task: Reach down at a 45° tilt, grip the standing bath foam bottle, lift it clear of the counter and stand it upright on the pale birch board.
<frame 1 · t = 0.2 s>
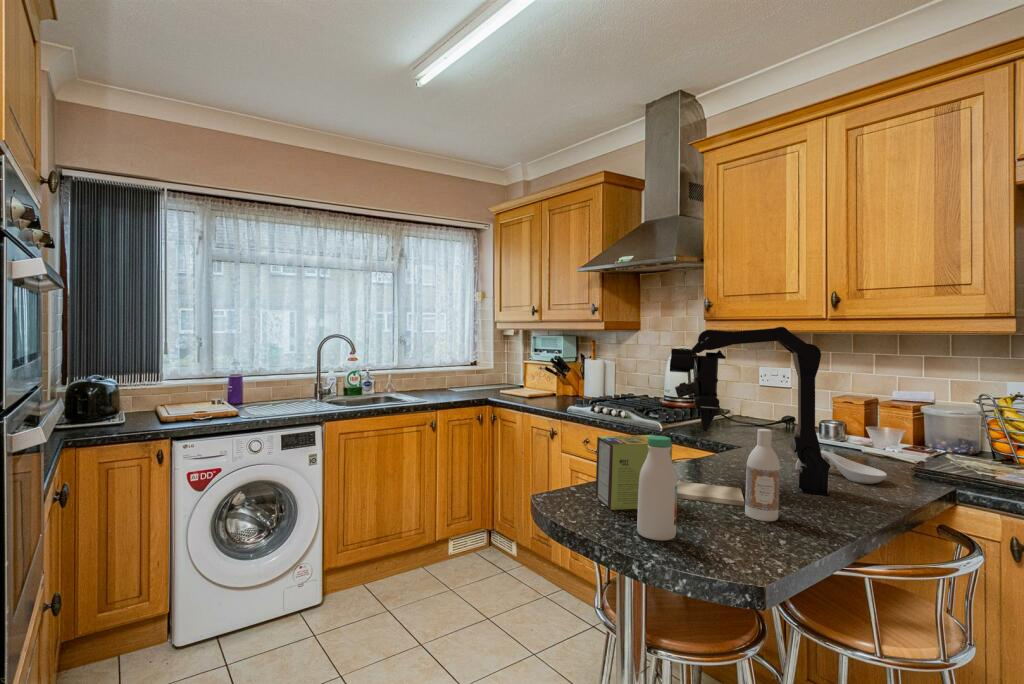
hand: (704, 428, 155), 15 cm above the countertop, tool pointing down, fingers open, 9 cm apart
spoon rest: (839, 478, 163), on the countertop
bath foam: (761, 517, 124), on the countertop
protein box: (631, 503, 132), on the countertop
birch board: (708, 495, 140), on the countertop
milk bottle: (656, 535, 111), on the countertop
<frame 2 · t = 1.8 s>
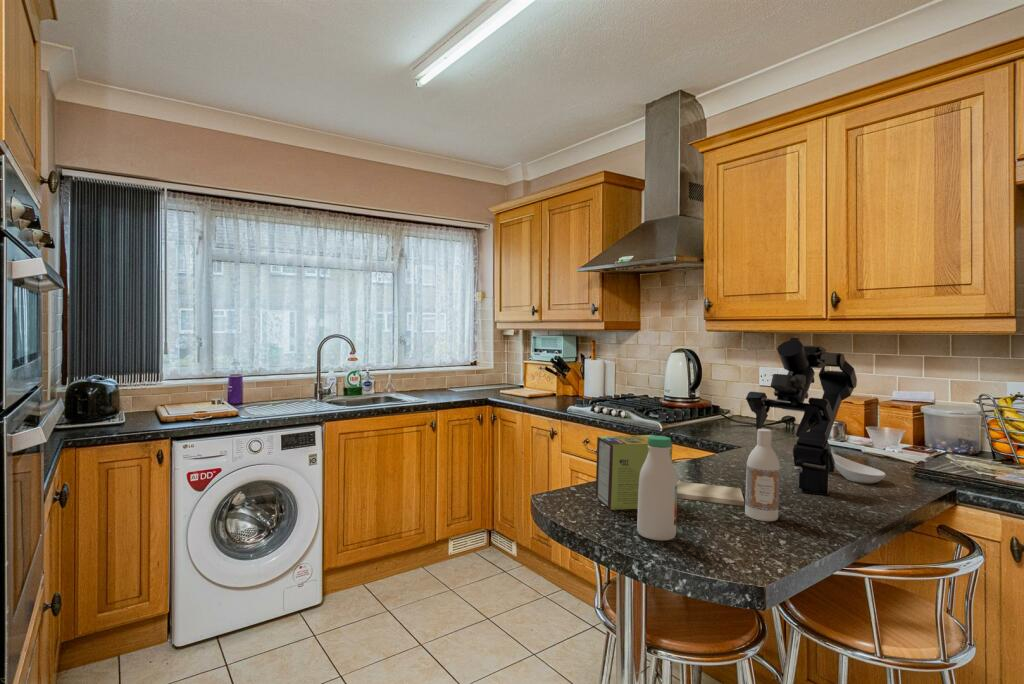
hand: (776, 432, 130), 18 cm above the countertop, tool tilted 45°, fingers open, 9 cm apart
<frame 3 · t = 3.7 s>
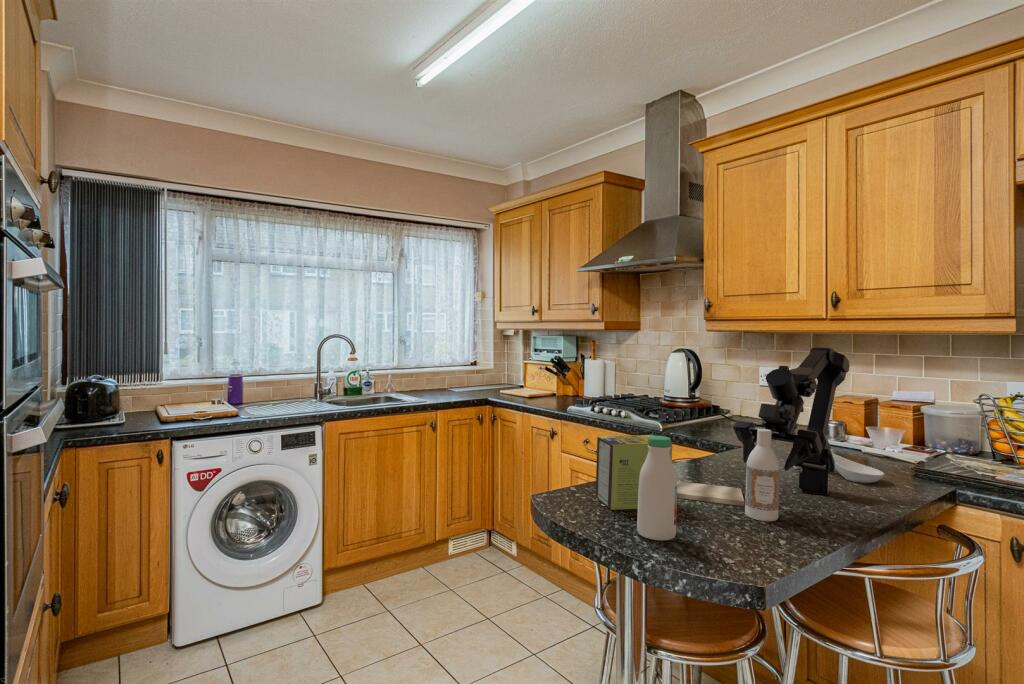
hand: (764, 465, 124), 12 cm above the countertop, tool tilted 45°, fingers open, 9 cm apart
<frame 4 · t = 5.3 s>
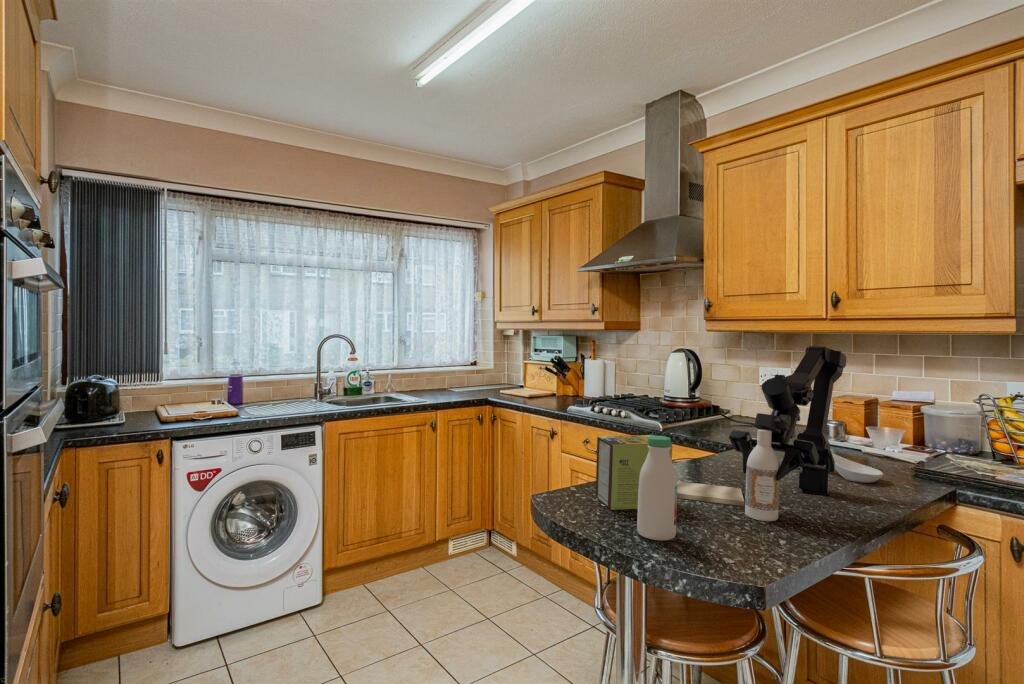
hand: (760, 476, 123), 10 cm above the countertop, tool tilted 45°, fingers closed on bath foam, 7 cm apart
bath foam: (761, 517, 124), on the countertop, touching gripper
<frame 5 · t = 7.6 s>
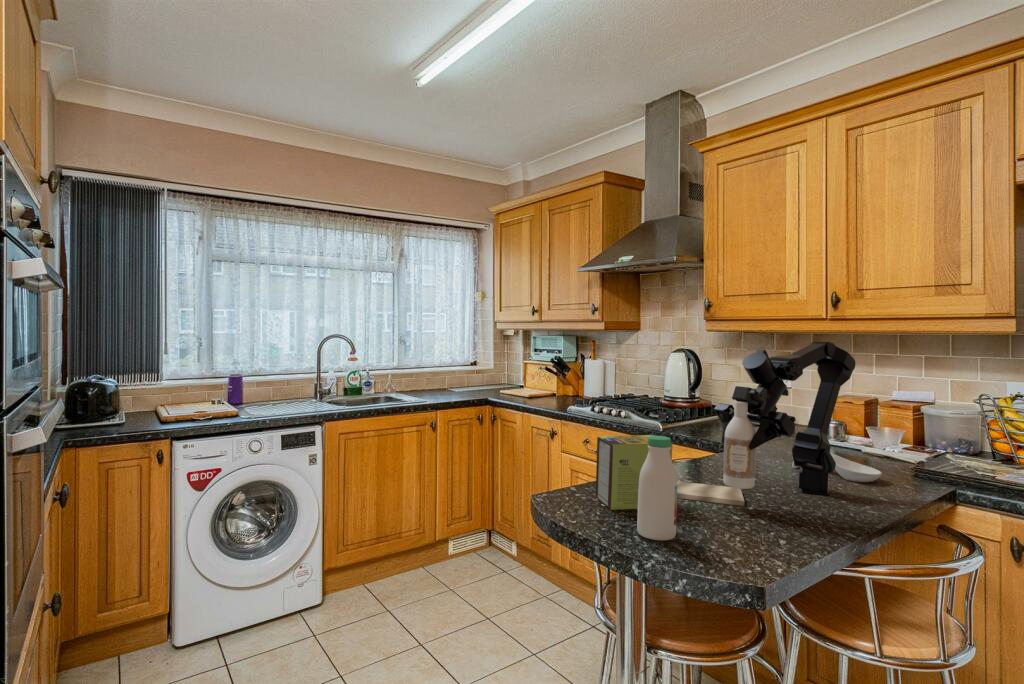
hand: (736, 445, 129), 15 cm above the countertop, tool tilted 45°, fingers closed on bath foam, 7 cm apart
bath foam: (738, 486, 130), point 5 cm above the countertop, touching gripper
when the fingers open (12 cm above the countertop, at t = 10.3 s): bath foam stays where it is, resting on birch board.
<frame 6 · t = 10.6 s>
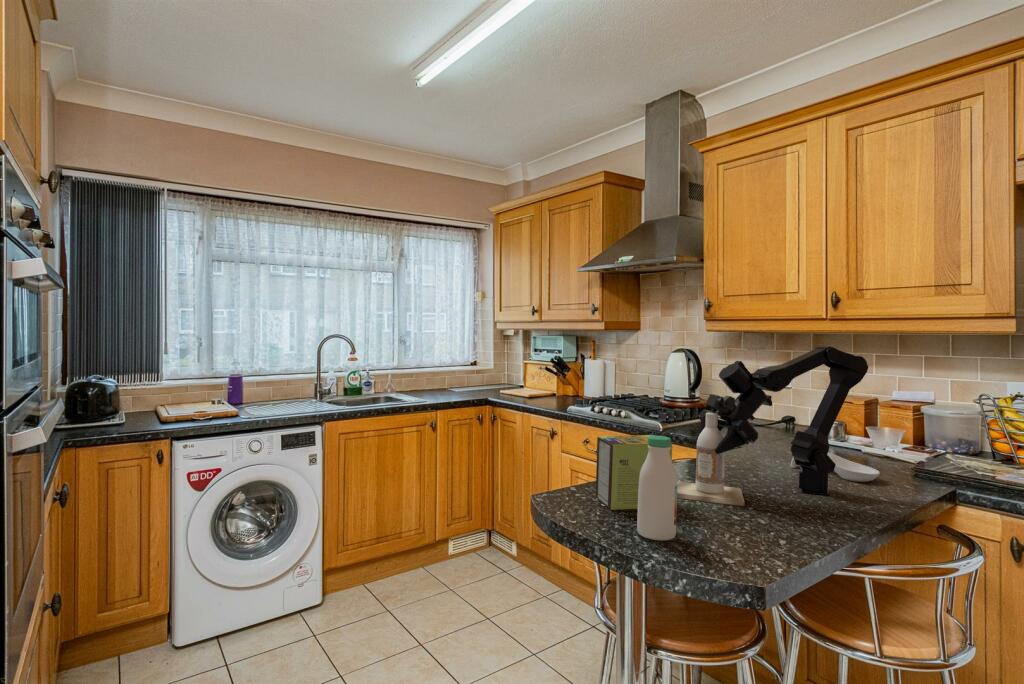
hand: (705, 448, 140), 12 cm above the countertop, tool tilted 45°, fingers open, 9 cm apart
bath foam: (709, 491, 140), point 1 cm above the countertop, touching birch board
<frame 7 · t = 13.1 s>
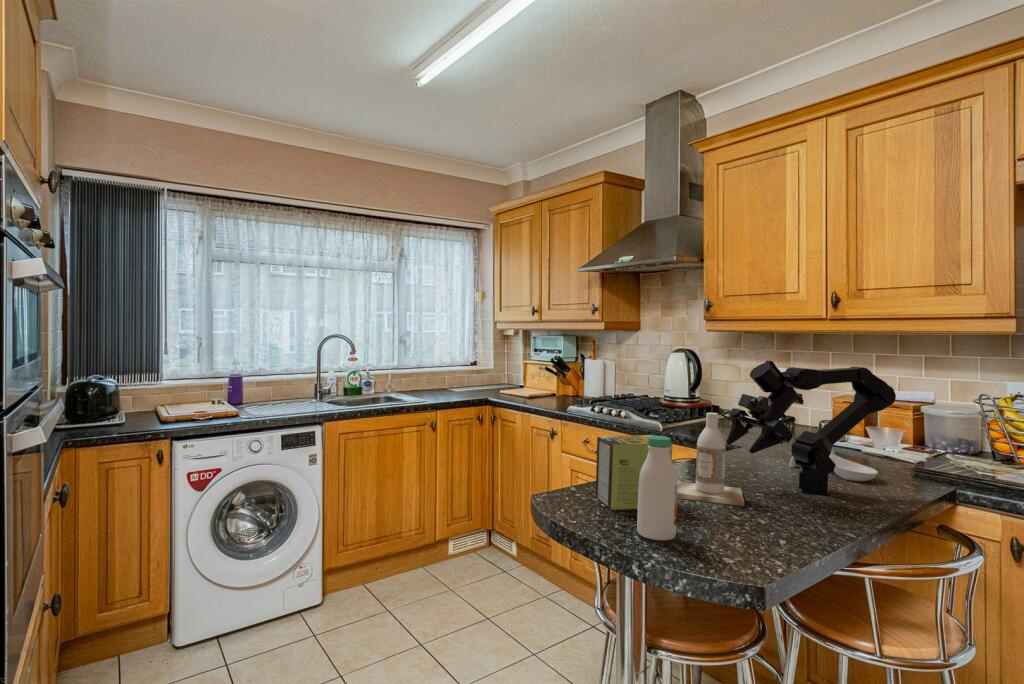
hand: (738, 447, 142), 12 cm above the countertop, tool tilted 45°, fingers open, 9 cm apart
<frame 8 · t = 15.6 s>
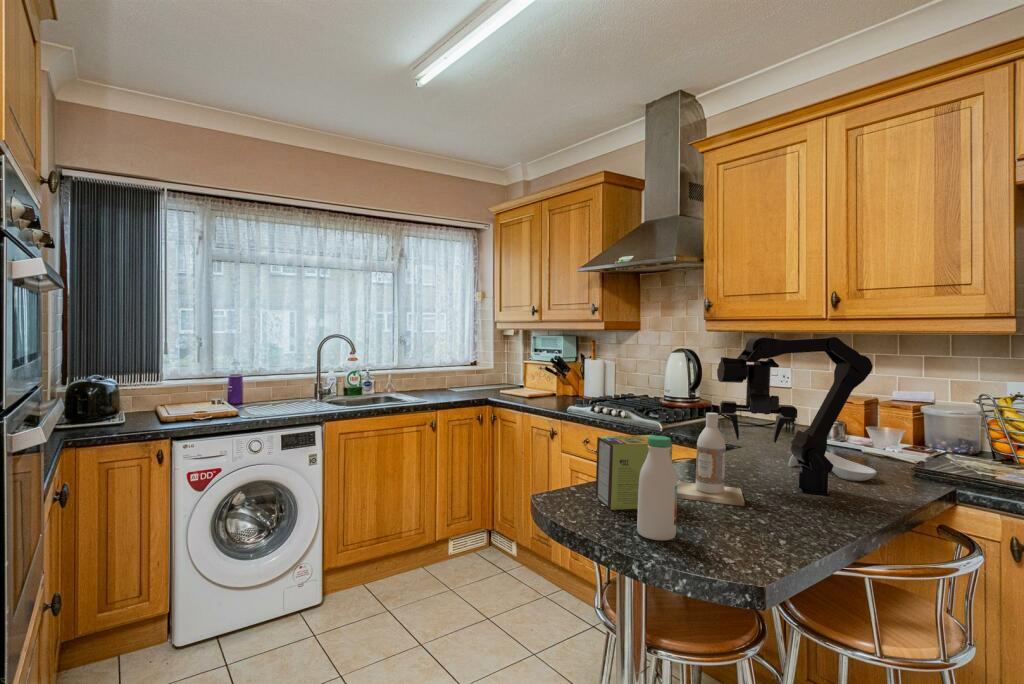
hand: (756, 440, 147), 13 cm above the countertop, tool pointing down, fingers open, 9 cm apart
at the end: bath foam inside the target area on the birch board (0.2 cm from its centre), point 1.0 cm above the birch board's base; bath foam tilted 0°; the gripper is holding nothing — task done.
